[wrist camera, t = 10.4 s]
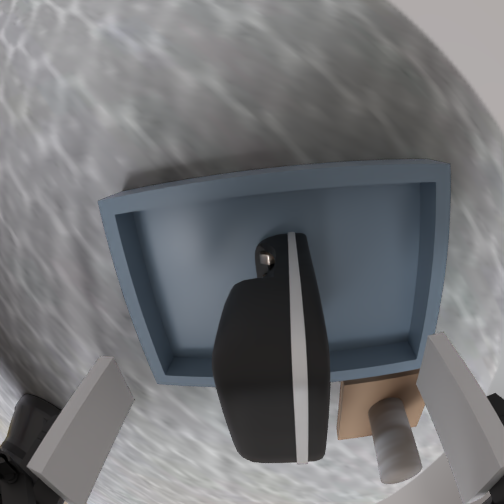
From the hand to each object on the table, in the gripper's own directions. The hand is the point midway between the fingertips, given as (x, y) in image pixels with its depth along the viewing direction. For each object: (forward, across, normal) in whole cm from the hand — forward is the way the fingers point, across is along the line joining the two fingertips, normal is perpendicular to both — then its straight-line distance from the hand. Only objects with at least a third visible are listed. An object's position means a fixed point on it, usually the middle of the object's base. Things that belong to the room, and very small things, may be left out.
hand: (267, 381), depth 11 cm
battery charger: (+9, 0, 0) cm, 9 cm away
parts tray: (+9, +1, 0) cm, 9 cm away
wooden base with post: (+9, +9, -13) cm, 18 cm away
